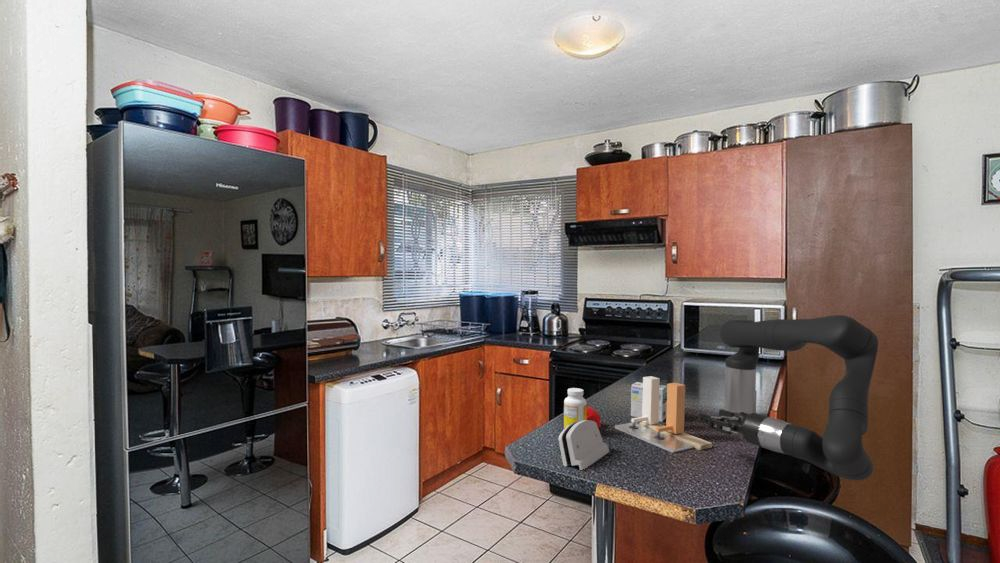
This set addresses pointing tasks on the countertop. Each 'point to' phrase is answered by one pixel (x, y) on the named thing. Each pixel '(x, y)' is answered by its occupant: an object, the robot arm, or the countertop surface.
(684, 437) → the rail
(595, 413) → the cap
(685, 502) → the countertop surface
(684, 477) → the countertop surface
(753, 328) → the robot arm
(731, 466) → the countertop surface
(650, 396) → the fixed leg
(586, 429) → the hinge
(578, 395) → the supplement bottle
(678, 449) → the bolt plate
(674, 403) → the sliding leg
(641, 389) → the light bulb box
